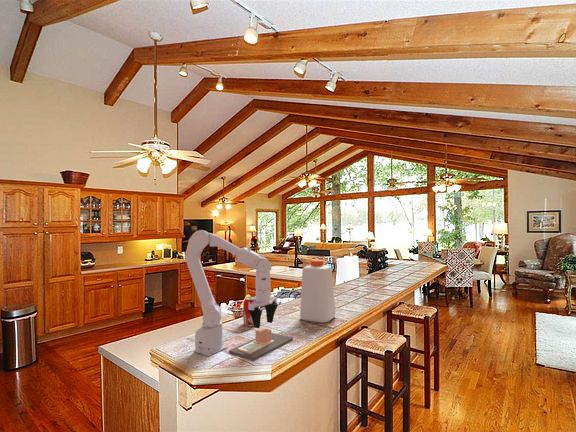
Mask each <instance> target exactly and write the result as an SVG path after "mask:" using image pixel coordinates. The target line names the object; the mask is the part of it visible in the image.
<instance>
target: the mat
mask: <svg viewBox="0 0 576 432" xmlns="http://www.w3.org/2000/svg"><path fill="white" fill-rule="evenodd" d="M271 333H272V340H274V342H273V343H271V344H269V345H267V346H265V347H263V348H261V349H259V350H257V351H255V352H253V353H251V354H249V353H246V352H242V351H239V350H238V348H240V347H242V346H244V345H246V344H249V343H251V342H253V341H255V340H256V337H255V338H253V339H251V340H249V341H246V342H244V343H242V344H240V345H238V346H236V347H233V348H231V349H229V350H228V353H229V354H231V355H235V356H238V357H242V358H244V359H247V360H251V361H256V360H258V359H260V358H262V357H263V356H266V355H268V354H269V353H271V352H273V351H275V350H277V349H280V347H283V346H285V345H286V344H288V343H290V342H292V341H293V340H294V338H293V337H290V336H287V335H282V334H277V333H275V332H274V333H273V332H271Z"/></svg>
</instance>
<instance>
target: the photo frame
mask: <svg viewBox="0 0 576 432" xmlns="http://www.w3.org/2000/svg"><path fill="white" fill-rule="evenodd" d="M263 347H265V345H264V344H260V343H256V342H251V343H249V344H246V345H244V346H242V347H240V348H238V350H239V351H242V352H246V353H249V354H251V353H253V352H255V351H257V350H259V349H261V348H263Z"/></svg>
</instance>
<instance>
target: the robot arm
mask: <svg viewBox="0 0 576 432" xmlns="http://www.w3.org/2000/svg"><path fill="white" fill-rule="evenodd" d="M208 245H209V247H218V248H220V249H222V250H224V251H226V252H229V253H230V254H232V255H234V256H236V259H237V261H238V262H240V263H241V264H244V265H245V266H248V267H250V268H251V269H255V297H256V301H254V302H253V303H251V304H249V308H248V312H249V313H250V315H251V317H252V320H253V324H254V326H253V327H254V328H256V329H260V328H261V317H262V314H263V310H261V309H260V308H261V307H264V308H265V314H266V315H265V316H266V322H267V323H268V324H269V323H271V324H272V323H273V322H274V316H275V313H276V311H277V308H278V306H279V303H277V301H278V298H277V297H276V296H271V295H272V291H271V288H272V287H271V286H272V285H271V270H272V267H273V266H272V263H271V262H270V260H269V259H267V258H266V257H265V256H263V255H262V254H261V253H260V254H258V253H256V252H255V251H253V250H252V248H251V247H248V246H247V247H246V246H245V247H239V246H237V245H235V244H233V243H232V242H230V241H228V240H226V239H224V237H223V238H222V237H221V236H219V235H217V234H214V233H211V232H208V231H206V230H203V229H199V230H196V231H195V232H194V233H192V235H191V236H190V237H189V239H188V242H187V247H186V250H185V254H184V260H185V262H186V266H187V268H188V271H189V274H190V276H191V279H192V282H193V284H194V288H195V290H196V293H197V296H198V299H199V302H200V305H201V310H202V321H203V322H202V324H201V326H200V328H198V329H197V330H196V331H195V334H194V335H195V336H194V338H195V339H194V343H195V344H194V349H193V352H194V353H195V352H196V353H197V354H201V355H203V356H206V357H209V356H212V355H214V354H216V353H218V352H220V351H222V350H225V349H227V348H228V345H224V344H223V322H222V320H221V319H222V309H221V306H220V305H219V304H217V302H216V300H215V297H214V296H213V293H212V290H211V287H210V284H209V282H208V279H207V276H206V274H205V271H204V267H203V264H202V262H201V259H200V255H201V254H202V252H203V250H204V249H205V247H207V246H208ZM258 308H259V309H258Z"/></svg>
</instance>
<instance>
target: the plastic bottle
mask: <svg viewBox="0 0 576 432" xmlns="http://www.w3.org/2000/svg"><path fill="white" fill-rule="evenodd" d="M301 275H302V276H301V294H300V309H299V310H300V311H299V317H300V320H302V321H305V322H313V323H319V324H324V323H329V322H330V321H331V320H332V319H334V318H335V317H336V305H335V294H334V293H335V292H334V284H333V283H334V282H333V270H332V267H331V265H324V261H323V260H322V259H312V260H310V265H306V266H304V267H302V274H301Z"/></svg>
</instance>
